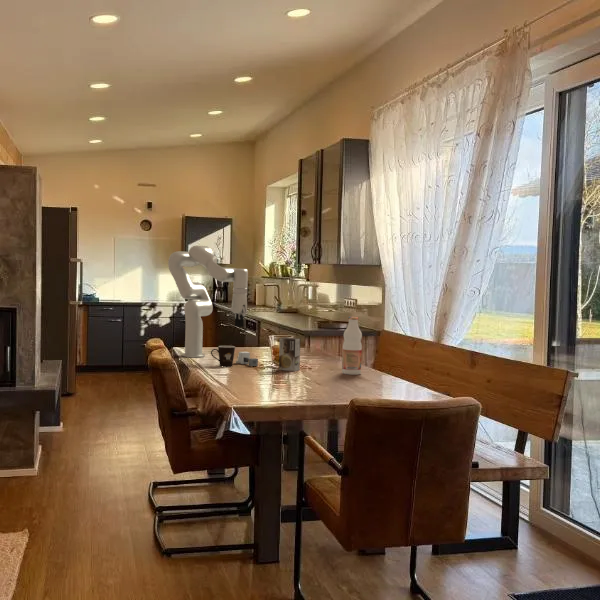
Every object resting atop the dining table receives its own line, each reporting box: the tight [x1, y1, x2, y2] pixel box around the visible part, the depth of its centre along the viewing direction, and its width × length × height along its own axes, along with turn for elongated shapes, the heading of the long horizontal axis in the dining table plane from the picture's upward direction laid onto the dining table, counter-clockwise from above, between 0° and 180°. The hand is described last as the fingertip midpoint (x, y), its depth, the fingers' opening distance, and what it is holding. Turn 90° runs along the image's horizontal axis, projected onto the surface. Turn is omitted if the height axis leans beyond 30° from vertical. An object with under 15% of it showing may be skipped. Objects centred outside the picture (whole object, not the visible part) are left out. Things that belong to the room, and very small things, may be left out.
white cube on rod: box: [237, 351, 251, 365], centre depth 379 cm, size 4×4×6 cm
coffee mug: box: [210, 345, 236, 368], centre depth 368 cm, size 12×9×10 cm
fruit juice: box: [341, 316, 363, 376], centre depth 357 cm, size 9×9×28 cm
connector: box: [248, 357, 259, 367], centre depth 370 cm, size 2×4×4 cm, turn 121°
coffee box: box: [278, 336, 301, 372], centre depth 362 cm, size 9×6×16 cm
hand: (239, 326), depth 385 cm, fingers open, 2 cm apart
